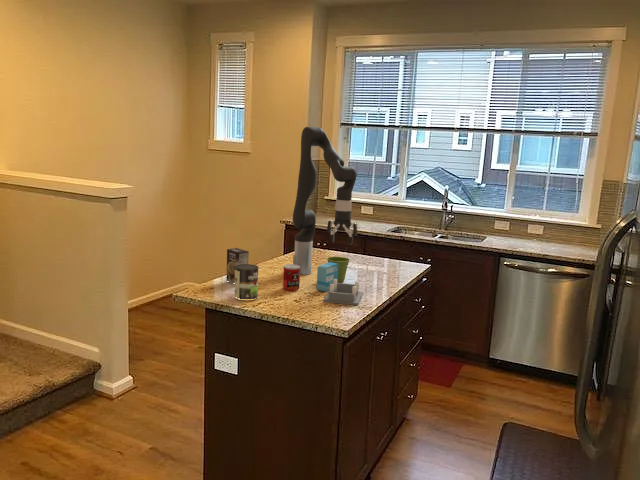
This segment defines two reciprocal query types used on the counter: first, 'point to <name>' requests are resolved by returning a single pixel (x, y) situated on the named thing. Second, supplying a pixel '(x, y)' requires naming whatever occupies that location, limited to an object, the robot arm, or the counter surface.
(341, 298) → the tray
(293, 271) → the canned food
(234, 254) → the coffee box
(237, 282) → the coffee can
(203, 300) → the counter surface
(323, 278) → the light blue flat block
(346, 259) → the plant pot
